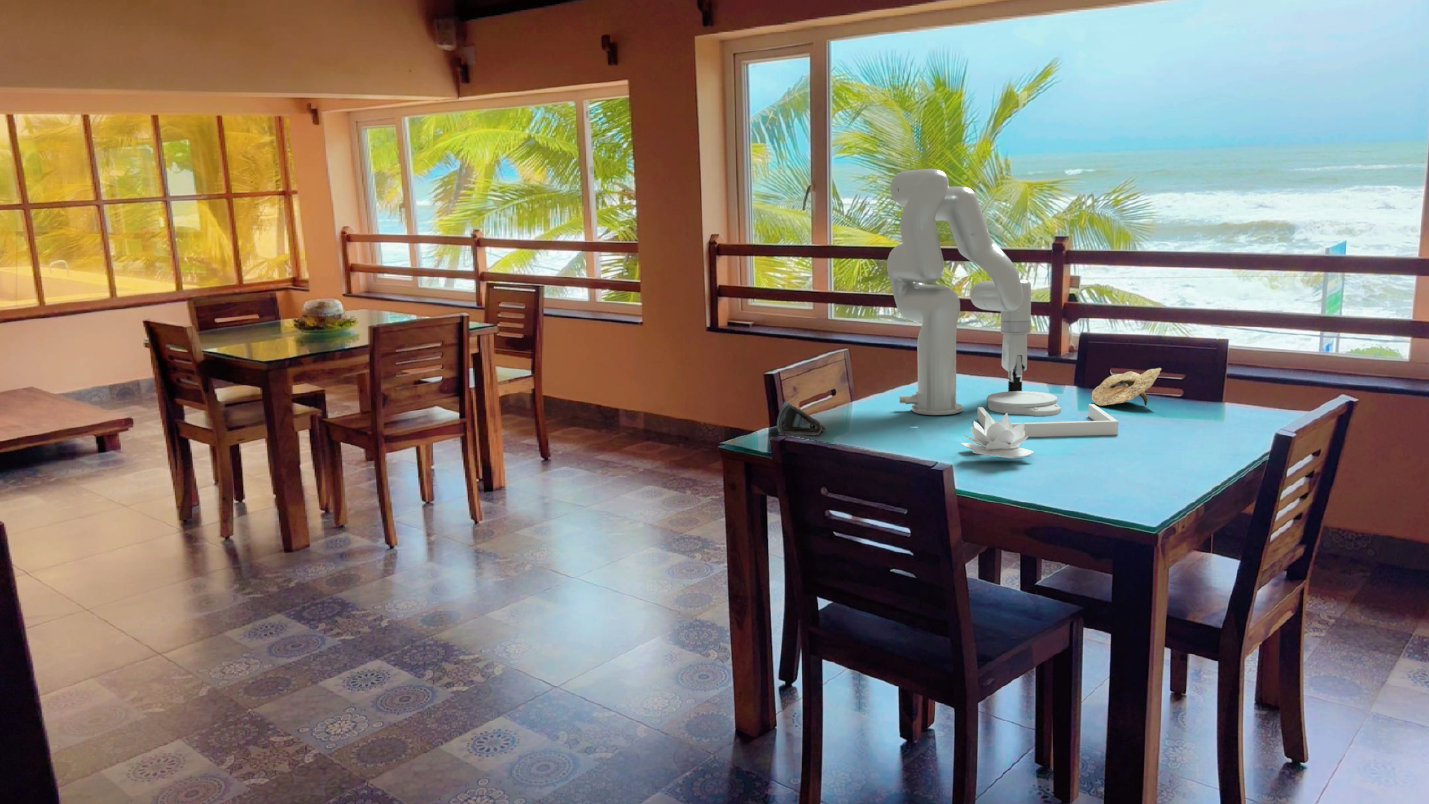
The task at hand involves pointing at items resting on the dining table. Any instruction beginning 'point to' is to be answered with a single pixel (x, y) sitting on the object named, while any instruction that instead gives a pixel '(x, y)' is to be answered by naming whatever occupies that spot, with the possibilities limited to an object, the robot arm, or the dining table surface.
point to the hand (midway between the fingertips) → (1015, 396)
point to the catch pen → (1067, 425)
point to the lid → (1024, 403)
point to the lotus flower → (998, 439)
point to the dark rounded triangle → (797, 421)
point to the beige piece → (1124, 387)
